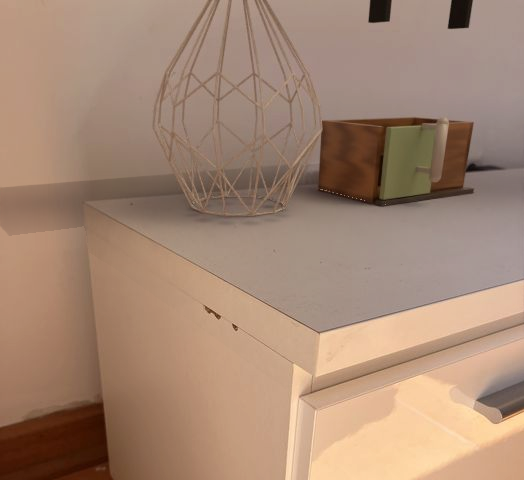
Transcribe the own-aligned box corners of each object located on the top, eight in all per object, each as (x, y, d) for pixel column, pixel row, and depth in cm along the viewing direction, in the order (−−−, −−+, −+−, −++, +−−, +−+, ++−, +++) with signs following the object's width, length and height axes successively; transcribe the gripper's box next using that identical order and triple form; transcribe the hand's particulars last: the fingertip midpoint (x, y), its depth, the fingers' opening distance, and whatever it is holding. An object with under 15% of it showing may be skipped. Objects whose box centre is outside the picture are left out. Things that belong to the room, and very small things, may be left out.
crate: (473, 192, 79) (485, 123, 75) (381, 206, 70) (390, 127, 66) (406, 179, 88) (413, 116, 84) (317, 190, 79) (321, 120, 75)
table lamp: (195, 239, 55) (173, -362, 37) (115, 198, 72) (74, -229, 54) (369, 214, 66) (415, -259, 48) (264, 184, 83) (270, -175, 65)
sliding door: (452, 198, 71) (465, 116, 67) (405, 205, 67) (416, 118, 63) (425, 192, 75) (435, 114, 70) (379, 198, 70) (387, 116, 66)
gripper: (493, -171, 68) (463, 32, 77) (331, -230, 56) (319, 21, 65) (551, -193, 62) (511, 29, 72) (386, -263, 50) (364, 16, 59)
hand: (420, 25), depth 68 cm, fingers open, 13 cm apart
